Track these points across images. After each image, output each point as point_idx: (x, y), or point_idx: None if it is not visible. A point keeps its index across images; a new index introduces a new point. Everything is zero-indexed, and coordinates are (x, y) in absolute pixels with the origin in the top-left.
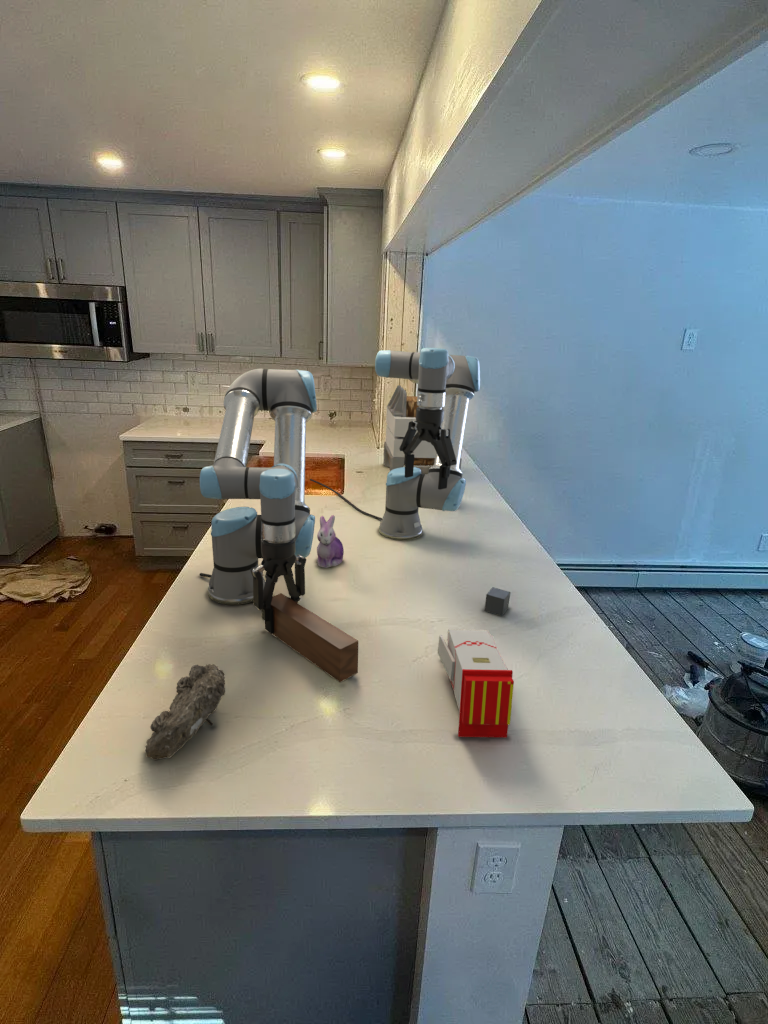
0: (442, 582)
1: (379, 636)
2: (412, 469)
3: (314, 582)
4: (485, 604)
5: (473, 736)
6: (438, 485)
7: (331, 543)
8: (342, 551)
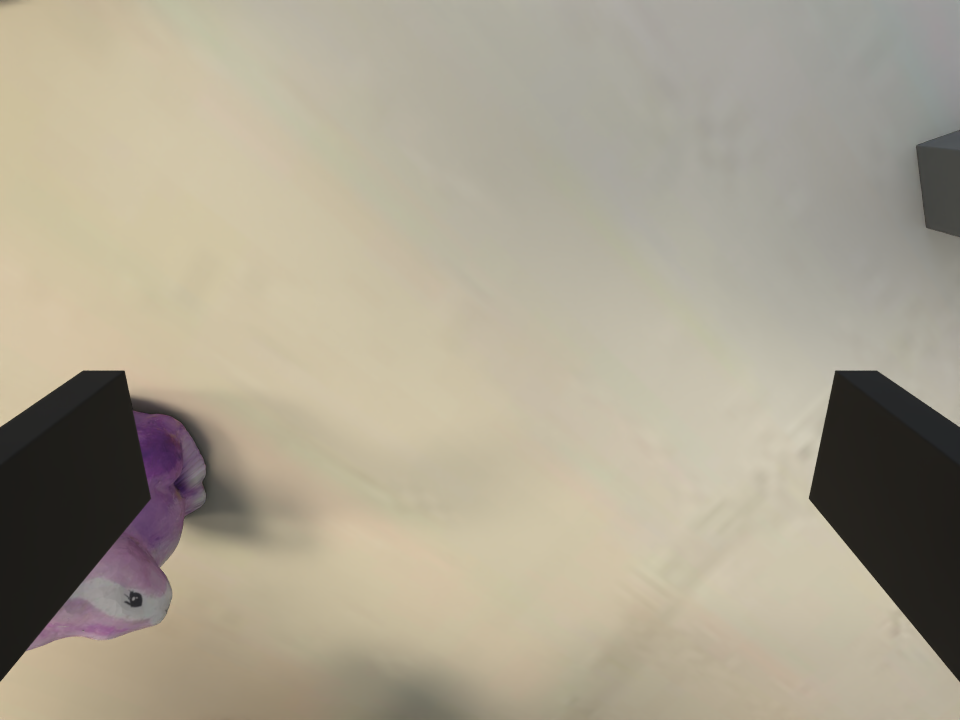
0: (621, 175)
1: (732, 629)
2: (60, 444)
3: (296, 594)
4: (948, 233)
5: None
6: (838, 529)
7: (146, 546)
8: (162, 452)
